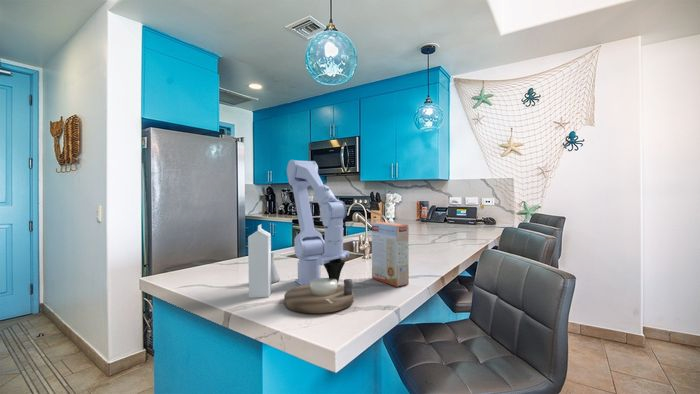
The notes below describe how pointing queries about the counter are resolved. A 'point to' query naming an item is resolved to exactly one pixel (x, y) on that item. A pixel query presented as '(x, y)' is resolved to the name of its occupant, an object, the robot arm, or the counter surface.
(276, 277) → the flask
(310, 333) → the counter surface
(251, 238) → the milk
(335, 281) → the dish
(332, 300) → the turntable
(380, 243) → the cracker box
